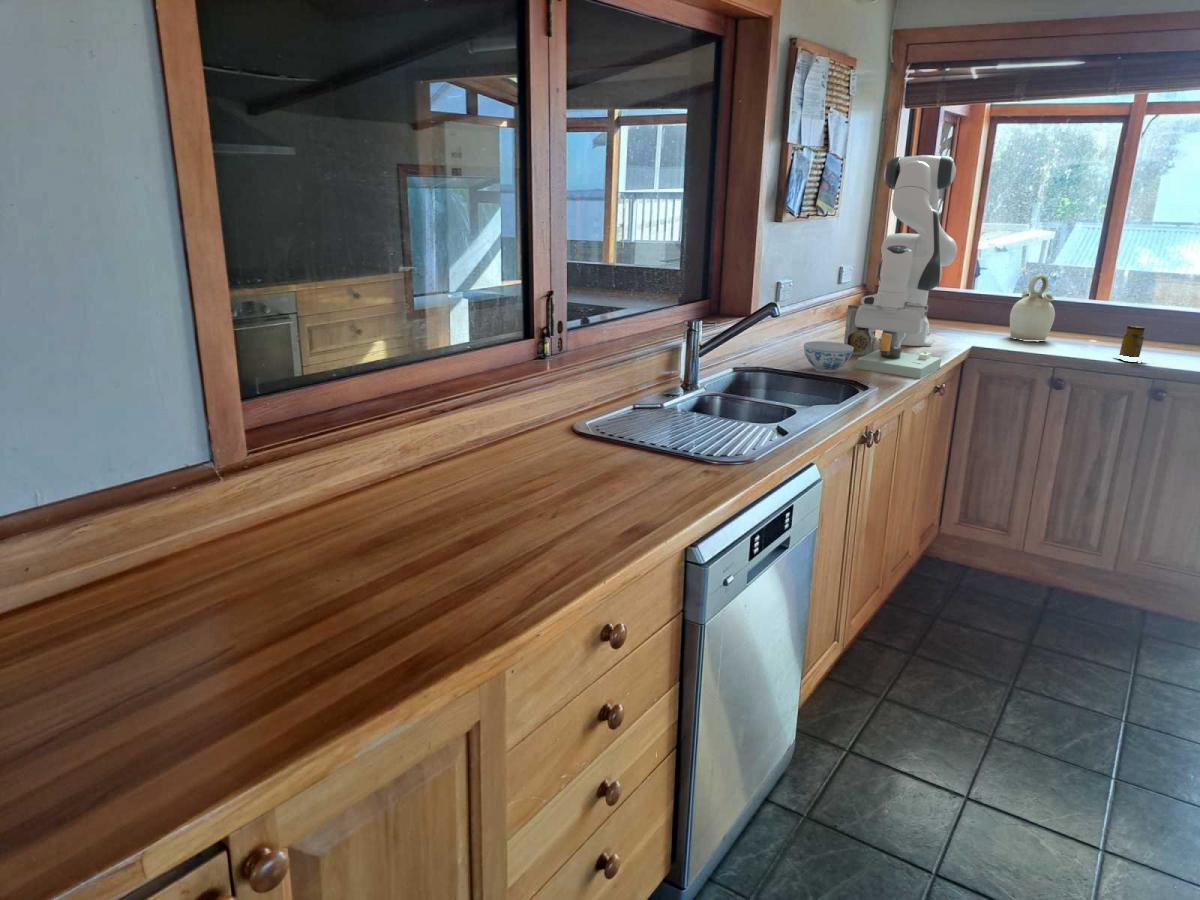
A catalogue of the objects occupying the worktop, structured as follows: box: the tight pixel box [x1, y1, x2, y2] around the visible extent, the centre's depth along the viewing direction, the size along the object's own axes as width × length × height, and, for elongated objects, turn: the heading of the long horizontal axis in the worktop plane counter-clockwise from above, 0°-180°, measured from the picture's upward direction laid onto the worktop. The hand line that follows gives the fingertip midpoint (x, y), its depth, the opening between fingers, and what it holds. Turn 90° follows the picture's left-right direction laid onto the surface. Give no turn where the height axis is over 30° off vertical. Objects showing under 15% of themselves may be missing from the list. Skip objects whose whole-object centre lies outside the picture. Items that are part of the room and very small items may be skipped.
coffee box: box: [843, 304, 877, 356], centre depth 289 cm, size 9×6×16 cm
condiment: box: [1118, 324, 1146, 358], centre depth 295 cm, size 7×8×12 cm
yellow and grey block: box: [879, 333, 902, 358], centre depth 269 cm, size 12×6×8 cm, turn 144°
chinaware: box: [803, 340, 854, 373], centre depth 263 cm, size 15×15×8 cm
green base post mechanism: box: [855, 330, 942, 379], centre depth 269 cm, size 22×20×17 cm
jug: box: [1009, 274, 1056, 341], centre depth 328 cm, size 15×16×25 cm
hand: (885, 345), depth 265 cm, fingers open, 6 cm apart
